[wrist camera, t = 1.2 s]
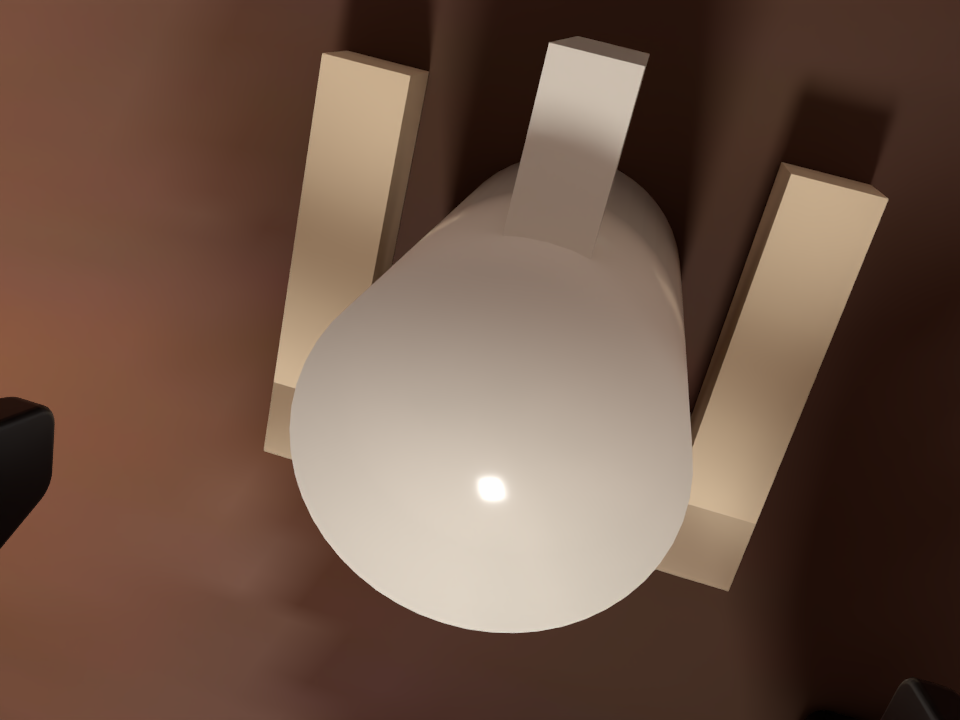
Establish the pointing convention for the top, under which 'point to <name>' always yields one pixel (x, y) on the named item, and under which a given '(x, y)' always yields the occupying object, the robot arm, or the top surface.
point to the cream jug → (513, 383)
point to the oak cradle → (740, 348)
